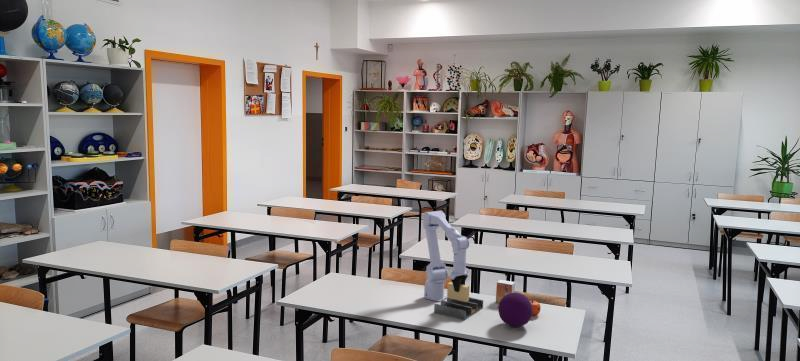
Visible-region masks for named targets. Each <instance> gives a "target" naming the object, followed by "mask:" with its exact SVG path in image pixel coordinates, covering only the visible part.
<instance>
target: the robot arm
mask: <svg viewBox="0 0 800 361" xmlns="http://www.w3.org/2000/svg"><path fill="white" fill-rule="evenodd" d="M422 223H423V224H422V225H423V229H424V230H425V236H426V241H427V248H428V253H429V254H428V255H429V262H430V263H428V265H427V266H426V280H425V283H424V288H423V289H424V293H423V297H422V298H423V299H427V300H430V301H435V302H440V303H441V300H443V301H445V299H446V300H447V295H445V282H446V280H447V279H448V277H449V280H450V282H452V283H453V287H454V291H456V292H459V289H460V284H462V285H465V282H466V280H467V278H468V276H469V275H468V273H469V268H467V267H466V266H467V265H466V263H467V249H468V248H469V247H470V241H469V238H468V237H467V236H464V235H461V233H460V232H459V231H458V230H457V229H456V227H452V226H451V224H449V222H448V220H447V219H446V214H445V213H444V211H443V210H436V211H424V213H423V214H422ZM439 227H440V228H441V229H442V230H443V231H444V232H445V237H446V238H447V239H448V240H449V241H450V242H451V243H450V244H451V247H452V253H453V262H452V263H453V267H452V268H453V269H452V272H451V273H450V274H449V270H448V268H447V266H446V263H444V262H443V261H441V259H442V258H441V254H440V247H439V240H438V235H437V229H438V228H439Z"/></svg>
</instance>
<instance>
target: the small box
mask: <svg viewBox="0 0 800 361" xmlns="http://www.w3.org/2000/svg"><path fill="white" fill-rule="evenodd" d="M495 289H496V292H495V303H498V304H499V303H500V301H501V299H502V298H503V297H504V296H505V295H507V294H509V293H513V292H516V281H511V280H510V281H509V280H504V279H499V280H498V281H497V282H496V288H495Z"/></svg>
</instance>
